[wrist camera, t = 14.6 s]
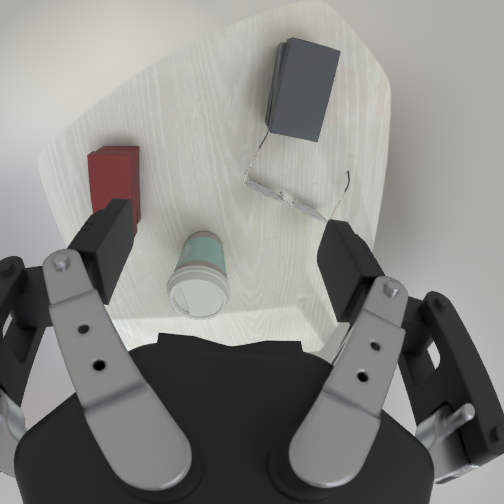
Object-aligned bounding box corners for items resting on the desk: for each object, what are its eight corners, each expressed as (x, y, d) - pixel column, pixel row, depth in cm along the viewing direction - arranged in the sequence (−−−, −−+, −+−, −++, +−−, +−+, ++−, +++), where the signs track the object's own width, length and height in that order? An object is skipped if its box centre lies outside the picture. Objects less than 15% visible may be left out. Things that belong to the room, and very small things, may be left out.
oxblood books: (102, 144, 35) (93, 150, 32) (141, 144, 35) (134, 151, 33) (107, 216, 41) (100, 226, 39) (142, 218, 42) (137, 229, 40)
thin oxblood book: (92, 151, 32) (87, 155, 31) (134, 151, 33) (130, 155, 32) (99, 228, 39) (96, 234, 38) (137, 231, 40) (134, 237, 38)
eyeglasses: (240, 176, 39) (241, 186, 36) (266, 126, 36) (270, 130, 32) (322, 214, 44) (330, 226, 40) (349, 170, 40) (360, 178, 37)
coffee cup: (187, 215, 42) (175, 266, 33) (239, 235, 45) (242, 288, 35) (171, 257, 47) (158, 311, 37) (218, 273, 49) (216, 328, 40)
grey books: (276, 42, 28) (286, 36, 23) (322, 52, 29) (342, 50, 23) (262, 124, 35) (268, 136, 29) (306, 131, 36) (320, 146, 30)
